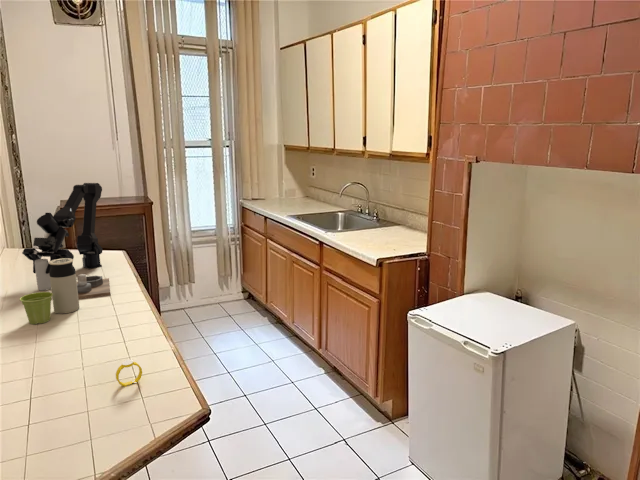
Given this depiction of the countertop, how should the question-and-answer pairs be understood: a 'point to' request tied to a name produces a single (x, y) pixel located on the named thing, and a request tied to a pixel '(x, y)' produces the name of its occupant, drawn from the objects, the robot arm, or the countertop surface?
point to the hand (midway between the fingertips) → (40, 273)
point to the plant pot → (37, 306)
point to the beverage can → (42, 274)
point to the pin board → (92, 286)
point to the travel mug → (63, 286)
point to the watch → (128, 364)
